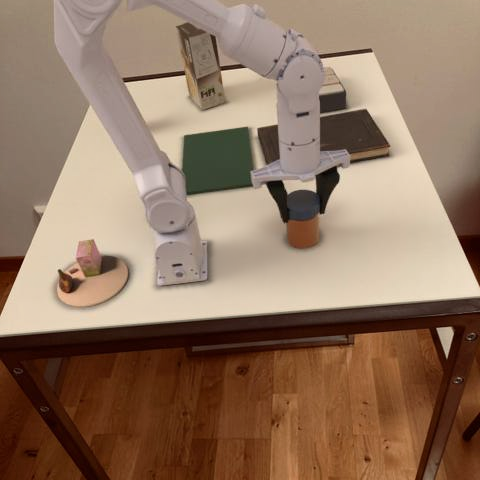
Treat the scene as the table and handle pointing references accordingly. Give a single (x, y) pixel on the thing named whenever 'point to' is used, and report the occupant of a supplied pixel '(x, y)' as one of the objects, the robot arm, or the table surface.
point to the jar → (303, 232)
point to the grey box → (332, 92)
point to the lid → (303, 205)
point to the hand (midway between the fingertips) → (302, 215)
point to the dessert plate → (92, 277)
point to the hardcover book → (336, 137)
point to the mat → (217, 160)
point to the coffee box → (201, 65)
